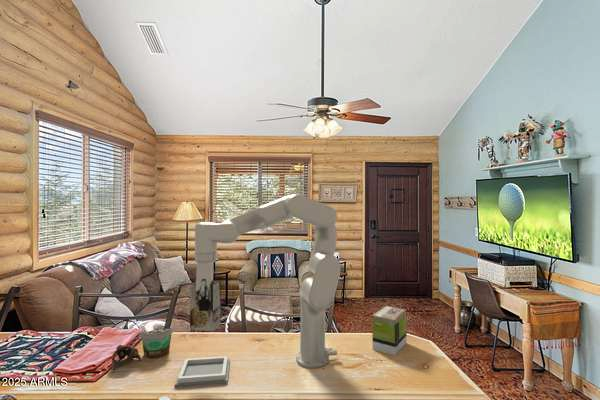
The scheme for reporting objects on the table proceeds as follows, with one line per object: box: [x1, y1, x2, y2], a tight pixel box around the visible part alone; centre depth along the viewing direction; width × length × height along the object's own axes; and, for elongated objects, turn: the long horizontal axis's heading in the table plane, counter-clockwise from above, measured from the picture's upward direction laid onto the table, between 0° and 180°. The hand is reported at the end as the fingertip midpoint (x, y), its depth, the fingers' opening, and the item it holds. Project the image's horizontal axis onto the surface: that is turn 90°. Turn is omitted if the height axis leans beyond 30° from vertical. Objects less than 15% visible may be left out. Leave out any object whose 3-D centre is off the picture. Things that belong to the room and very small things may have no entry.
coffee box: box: [189, 279, 222, 332], centre depth 115 cm, size 9×6×16 cm
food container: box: [139, 326, 174, 360], centre depth 127 cm, size 12×6×10 cm, turn 117°
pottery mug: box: [111, 344, 142, 371], centre depth 120 cm, size 12×10×8 cm
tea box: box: [371, 305, 408, 356], centre depth 137 cm, size 15×10×15 cm, turn 144°
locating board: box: [173, 355, 231, 389], centre depth 114 cm, size 17×15×2 cm
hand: (205, 306), depth 115 cm, fingers closed on coffee box, 8 cm apart
